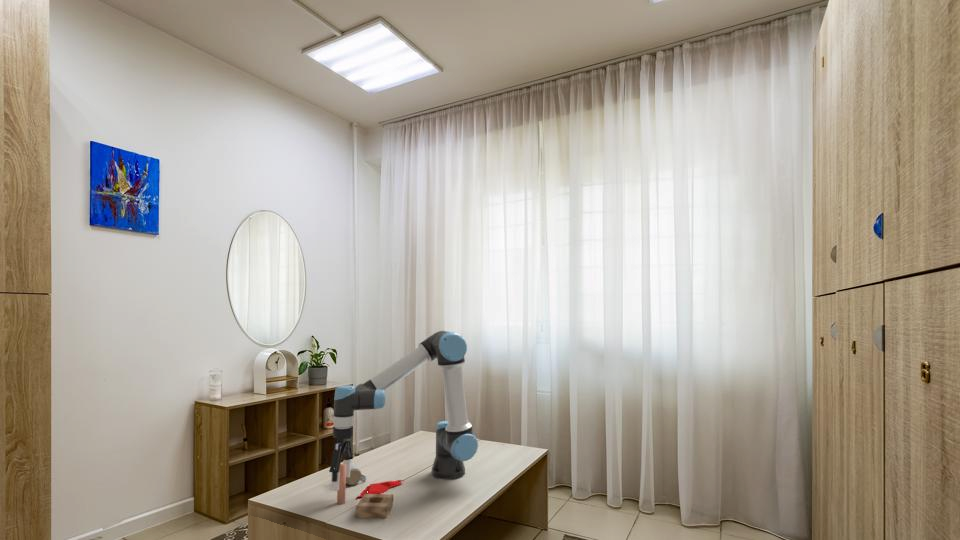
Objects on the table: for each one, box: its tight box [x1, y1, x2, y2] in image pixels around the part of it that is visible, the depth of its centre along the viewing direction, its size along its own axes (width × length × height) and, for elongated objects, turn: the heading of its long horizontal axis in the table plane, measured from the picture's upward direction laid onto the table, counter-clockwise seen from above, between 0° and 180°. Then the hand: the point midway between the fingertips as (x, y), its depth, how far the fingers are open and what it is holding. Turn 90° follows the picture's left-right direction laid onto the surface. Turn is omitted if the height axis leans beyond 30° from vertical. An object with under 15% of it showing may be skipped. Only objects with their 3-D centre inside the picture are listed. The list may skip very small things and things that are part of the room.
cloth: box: [355, 479, 404, 500], centre depth 197 cm, size 26×14×2 cm, turn 132°
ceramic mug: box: [346, 461, 367, 486], centre depth 205 cm, size 11×8×8 cm
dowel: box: [336, 463, 347, 505], centre depth 184 cm, size 3×3×14 cm
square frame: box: [355, 493, 395, 519], centre depth 176 cm, size 11×11×4 cm
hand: (340, 483), depth 183 cm, fingers open, 13 cm apart
